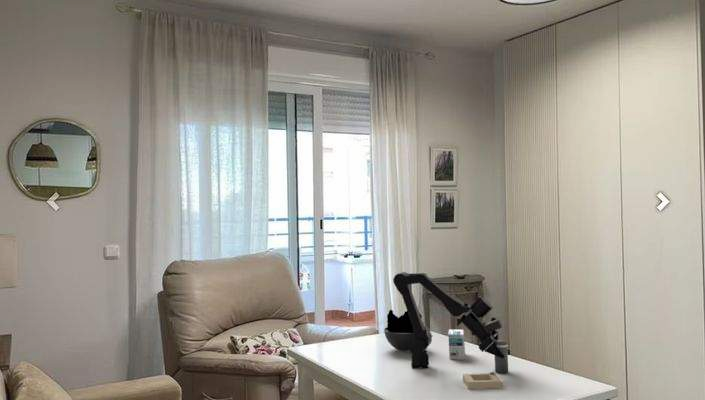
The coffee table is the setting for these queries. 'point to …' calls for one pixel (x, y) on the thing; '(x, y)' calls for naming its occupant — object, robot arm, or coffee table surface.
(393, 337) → the coal bowl
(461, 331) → the light bulb box
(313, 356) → the coffee table surface
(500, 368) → the canister
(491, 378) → the tan square frame
